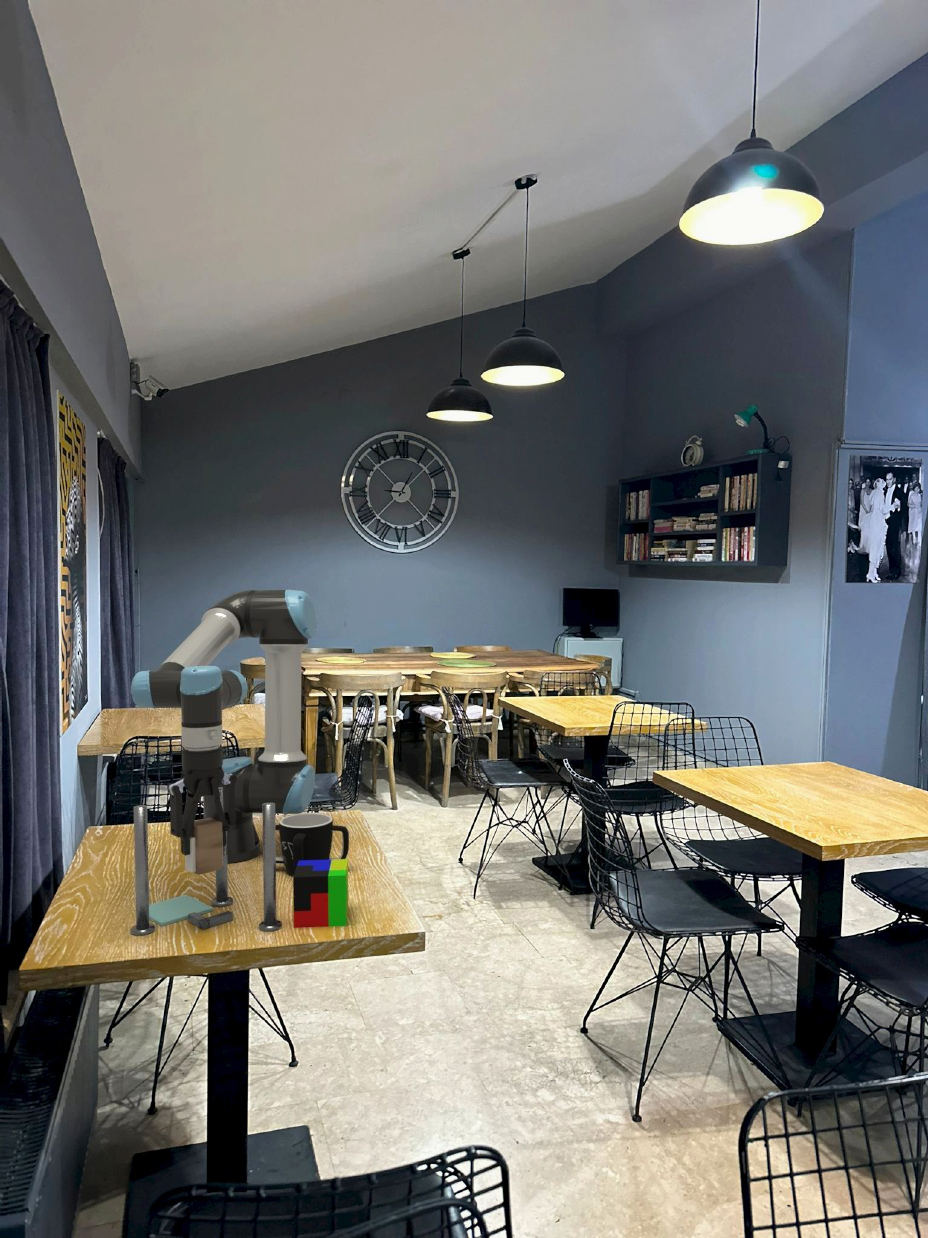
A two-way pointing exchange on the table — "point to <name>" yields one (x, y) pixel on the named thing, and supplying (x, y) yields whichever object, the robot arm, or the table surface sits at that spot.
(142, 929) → the post
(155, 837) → the table surface
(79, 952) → the table surface
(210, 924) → the gray corner bracket
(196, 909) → the pad
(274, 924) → the post
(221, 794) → the post
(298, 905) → the puzzle toy
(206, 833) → the walnut block
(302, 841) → the mug
